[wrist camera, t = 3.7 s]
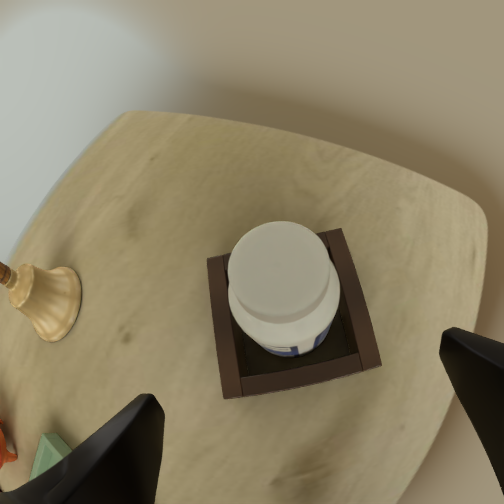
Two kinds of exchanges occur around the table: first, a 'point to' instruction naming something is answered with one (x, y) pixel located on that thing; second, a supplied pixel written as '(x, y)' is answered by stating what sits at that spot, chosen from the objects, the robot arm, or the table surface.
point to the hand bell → (44, 297)
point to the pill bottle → (283, 288)
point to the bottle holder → (358, 361)
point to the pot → (5, 450)
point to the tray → (48, 453)
